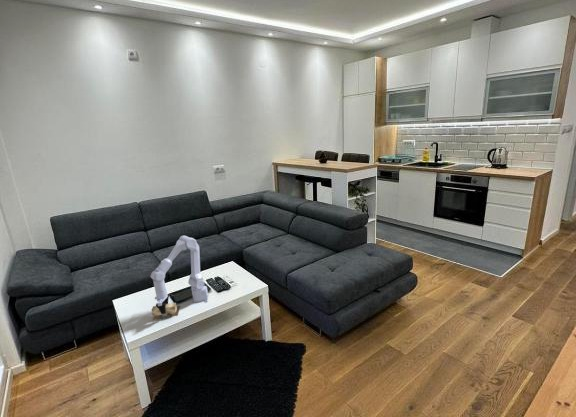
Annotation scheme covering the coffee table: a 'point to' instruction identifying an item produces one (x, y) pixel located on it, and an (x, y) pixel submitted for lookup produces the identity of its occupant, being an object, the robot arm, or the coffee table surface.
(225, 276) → the coffee table surface
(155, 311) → the beech bar
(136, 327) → the coffee table surface
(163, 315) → the gray stepped block
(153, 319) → the board
